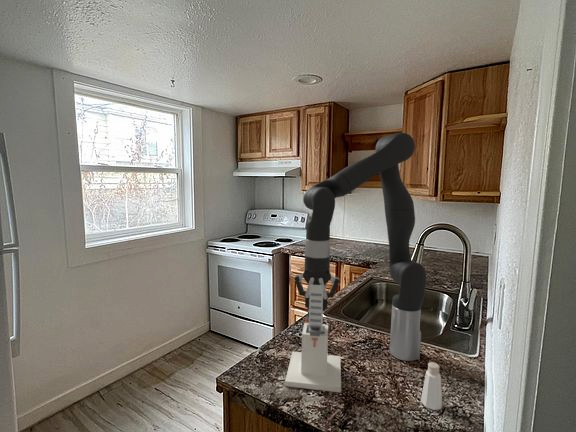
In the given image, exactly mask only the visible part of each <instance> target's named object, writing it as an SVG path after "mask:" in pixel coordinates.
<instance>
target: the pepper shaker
mask: <svg viewBox="0 0 576 432" xmlns="http://www.w3.org/2000/svg"><path fill="white" fill-rule="evenodd" d="M427 366H428V367H427V370H426V371H425V376H424V381H423V386H422V387H423V388H422V391H421V393H422V394H421V398H420V403H421V404H422V405H423V406H424V407H425V408H427V409H430V410H432V411H437V410H442V406H443V397H442V396H443V395H442V378H441V377H442V375H441V374H440V367H441V366H440V365H439V364H438V363H436V362H432V361H431V362H430V361H429V362H428V363H427Z"/></svg>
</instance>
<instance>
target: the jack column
mask: <svg viewBox="0 0 576 432" xmlns="http://www.w3.org/2000/svg"><path fill="white" fill-rule="evenodd" d="M323 315H324V311H323V285H320V284H310V294H309V332H308V333H310V329H311V330H320V334H322V324H324V322H323V317H324V316H323Z"/></svg>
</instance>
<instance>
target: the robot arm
mask: <svg viewBox="0 0 576 432" xmlns="http://www.w3.org/2000/svg"><path fill="white" fill-rule="evenodd" d="M415 144H416V143H415V140H414V139H413V137H412V136H411V134H409V133H406V132H396V133H393V134H389V135H386V136H383V137H380V138H379V139H378V141H377V142H376V145H375V152H374V153H372V154H371V155H369V156H367V157H364V158H362V159H360V160H358V161H356V162H354V163H351V164H350V165H348V166H346V167H344V168H343V169H342V170H339V171H337V173H335V174H334V175H332V176H330V177H329V178H327V179H324V180H322V181H320V182H318V183H316V184H314V185H313V186H310V187H309V188H308V189H307V190H306V191H305V192H304V194H303V197H302V198H303V199H302V202H303V204H304V206H305V207H306V208H308V210H311V211H312V214H311V218H310V219H309V220H308V221H306V229H305V245H304V271H303V273H302V274H296V275H295V276H294V283H295V284H296V288H297V291H298V295H299V296H303V297H304V304H305V305H304V307H305V308H306V310H307V311H308V310H309V294H310V284H320V285H323V312H325V311H326V310H327V309H328V300H329V299H330V298H332V299H333V298H334V296H335V294H336V291H337V289H338V286H339V283H340V278H339V276H336V277H335V276H332V274H331V271H330V270H331V269H330V268H331V265H330V264H331V242H330V241H331V223H332V221H333V216H334V213H335V207H336V199H337V198H341V197H344V196H347V195H349V194H350V193H351V192H353V191H355V190H356V189H357V188H359V187H360V186H362V185H363V184H365V183H366V182H367V181H370V180H371V179H372V178H374V177H375V176H377V175H379V177H380V183H381V187H382V188H381V189H382V195H383V202H384V203H383V204H384V214H385V222H386V229H387V231H386V232H387V239H388V249H389V251H388V253H389V254H388V255H389V256H388V257H389V260H388V261H389V262H388V264H389V274H390V277H391V279H392V280H393V281H394V282H395V283H396V284H398V285H399V291H398V292H399V293H396V294H394V295H393V296H392V299H391V300H392V301H391V317H390V318H391V319H390V320H391V322H390V339H389V354H390V355H392V357H394V358H395V359H398V360H401V361H405V362H412V361H416V360H418V361H420V360H421V358H420V357H421V343H422V331H421V330H420V328H421V326H420V325H421V311H422V304H423V302H424V300H425V296H426V295H425V294H426V287H427V271H426V269H425V267H424V265H422V264H421V263H419V262H416V261H414V260H412V257H411V252H410V240H411V236H412V234H413V230H414V227H415V225H416V214H415V213H416V212H415V206H414V204H415V203H414V200H413V197H412V196H411V194H410V192H409V190H408V189H407V187H406V185H405V184H404V183H403V180H402V179H401V174H400V169H399V164H401V163H403V162H406V161H407V160H409V159H411V157H412V156H413V155H414V153H415V149H416V145H415ZM303 279H304V281H305V283H307V287H306V290H304V288H303V283H302V282H303ZM330 281H331V288H330V290H329V292H328V291H327V286H326V285H327V284H328V283H329V282H330Z"/></svg>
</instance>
